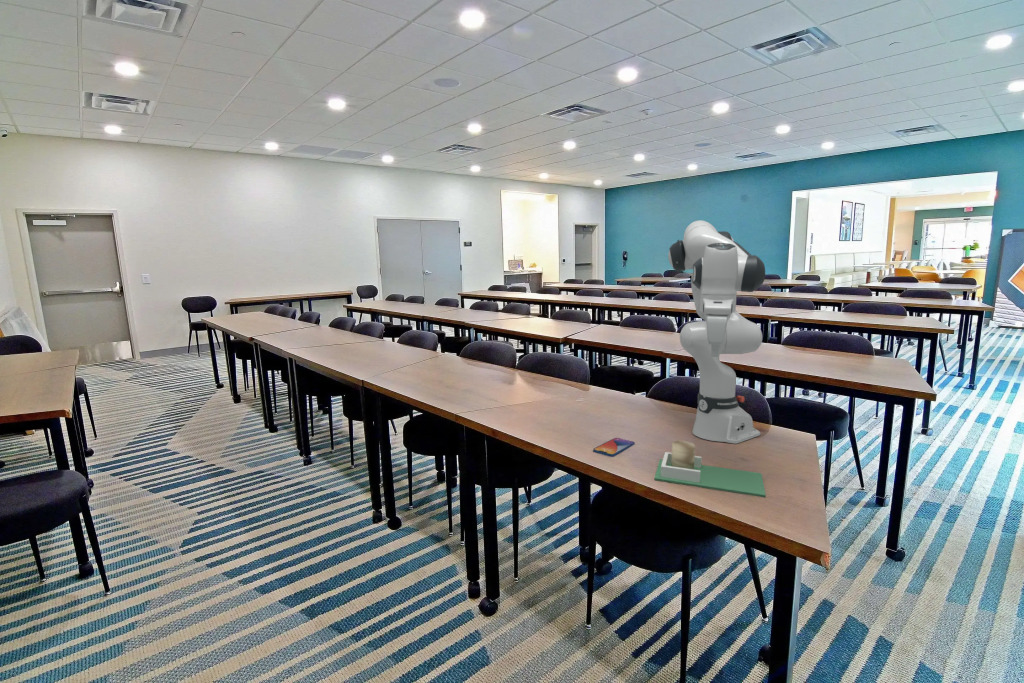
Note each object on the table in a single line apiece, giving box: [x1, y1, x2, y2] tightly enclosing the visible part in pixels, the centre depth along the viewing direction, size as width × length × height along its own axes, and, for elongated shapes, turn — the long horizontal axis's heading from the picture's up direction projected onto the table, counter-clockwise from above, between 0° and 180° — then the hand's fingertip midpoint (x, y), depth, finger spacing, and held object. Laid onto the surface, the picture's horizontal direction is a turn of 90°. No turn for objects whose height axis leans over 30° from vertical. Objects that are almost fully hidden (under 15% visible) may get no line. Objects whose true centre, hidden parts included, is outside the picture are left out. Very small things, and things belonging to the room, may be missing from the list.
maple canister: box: [671, 440, 696, 470], centre depth 137 cm, size 6×6×8 cm
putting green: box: [653, 451, 767, 498], centre depth 135 cm, size 27×14×4 cm, turn 67°
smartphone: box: [592, 437, 636, 458], centre depth 158 cm, size 7×15×1 cm, turn 139°
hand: (714, 356), depth 134 cm, fingers closed
